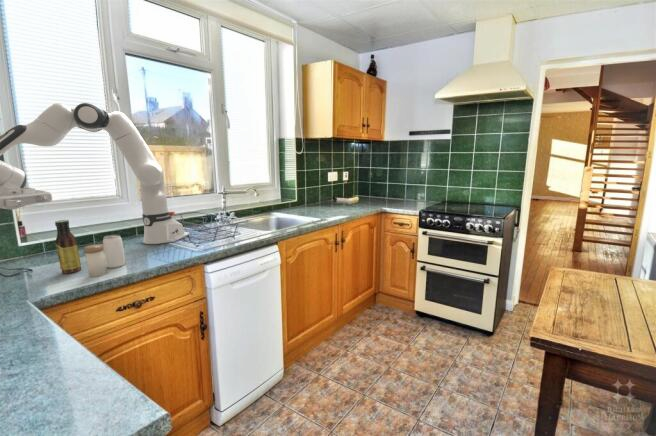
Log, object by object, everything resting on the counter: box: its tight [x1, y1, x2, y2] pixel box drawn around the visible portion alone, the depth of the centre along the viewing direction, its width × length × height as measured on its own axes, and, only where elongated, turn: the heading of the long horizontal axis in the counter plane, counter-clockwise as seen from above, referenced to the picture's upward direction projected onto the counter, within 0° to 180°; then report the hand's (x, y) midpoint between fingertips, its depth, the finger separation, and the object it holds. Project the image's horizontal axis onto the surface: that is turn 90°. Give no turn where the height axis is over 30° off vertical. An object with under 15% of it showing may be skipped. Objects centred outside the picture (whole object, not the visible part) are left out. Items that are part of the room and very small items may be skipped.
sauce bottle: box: [54, 219, 82, 274], centre depth 128 cm, size 7×6×20 cm
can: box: [102, 234, 126, 269], centre depth 135 cm, size 6×6×12 cm
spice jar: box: [83, 243, 108, 277], centre depth 126 cm, size 6×6×11 cm
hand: (33, 201), depth 130 cm, fingers open, 8 cm apart
